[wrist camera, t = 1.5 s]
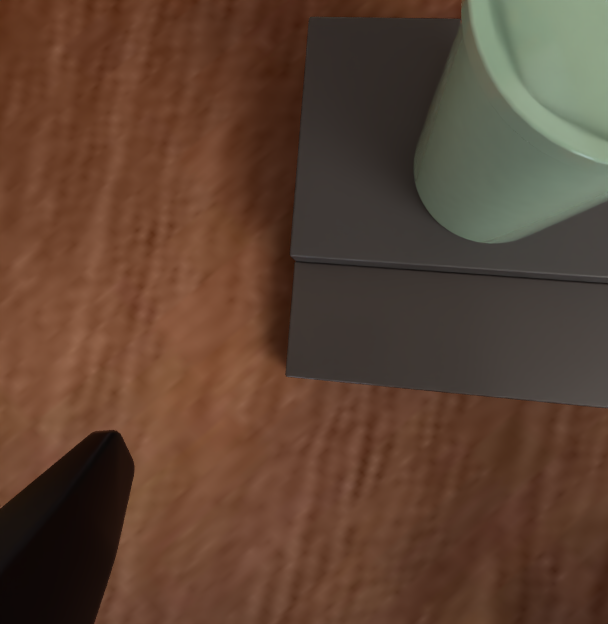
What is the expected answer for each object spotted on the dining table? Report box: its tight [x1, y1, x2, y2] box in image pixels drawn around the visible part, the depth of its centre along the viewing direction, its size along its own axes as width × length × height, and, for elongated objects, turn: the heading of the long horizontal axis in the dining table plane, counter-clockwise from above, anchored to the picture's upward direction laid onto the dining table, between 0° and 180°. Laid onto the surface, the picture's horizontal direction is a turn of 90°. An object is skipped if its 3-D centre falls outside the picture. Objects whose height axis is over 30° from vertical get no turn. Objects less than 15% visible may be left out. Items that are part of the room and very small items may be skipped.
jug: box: [413, 0, 608, 243], centre depth 13 cm, size 9×6×10 cm
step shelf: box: [285, 17, 608, 408], centre depth 19 cm, size 14×15×3 cm
